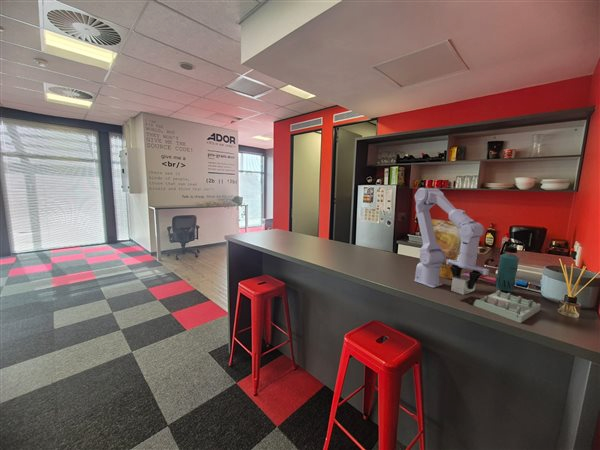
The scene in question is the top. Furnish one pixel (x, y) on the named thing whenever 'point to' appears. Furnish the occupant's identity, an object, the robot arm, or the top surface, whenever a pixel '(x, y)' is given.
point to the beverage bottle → (507, 270)
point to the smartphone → (484, 278)
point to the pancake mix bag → (447, 244)
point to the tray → (508, 306)
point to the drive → (461, 284)
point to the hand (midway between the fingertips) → (463, 286)
